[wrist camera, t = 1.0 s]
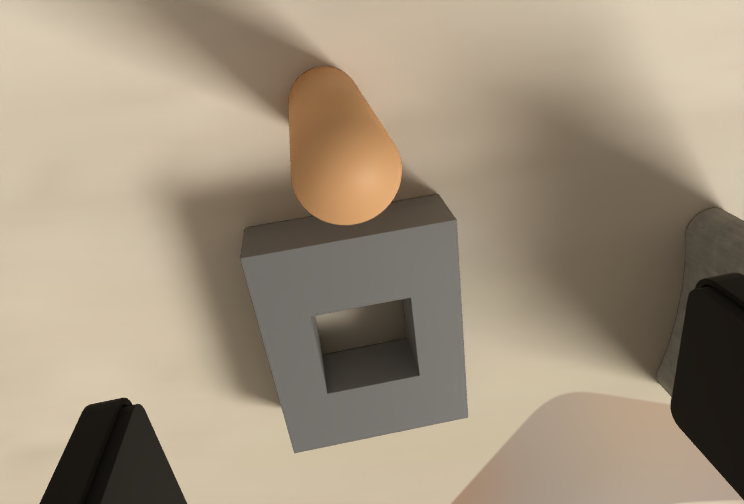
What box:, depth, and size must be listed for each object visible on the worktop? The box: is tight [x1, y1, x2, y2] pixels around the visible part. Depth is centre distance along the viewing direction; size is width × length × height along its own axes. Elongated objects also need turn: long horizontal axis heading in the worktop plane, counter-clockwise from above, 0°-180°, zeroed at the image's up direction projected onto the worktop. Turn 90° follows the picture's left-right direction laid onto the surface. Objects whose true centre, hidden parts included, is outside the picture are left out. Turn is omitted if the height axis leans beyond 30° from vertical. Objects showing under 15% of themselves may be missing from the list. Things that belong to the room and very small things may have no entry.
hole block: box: [240, 194, 468, 453], centre depth 35 cm, size 15×12×4 cm
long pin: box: [289, 66, 402, 225], centre depth 25 cm, size 4×4×12 cm
